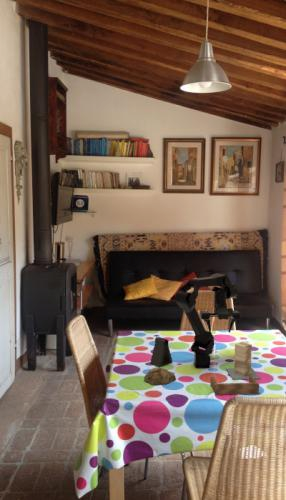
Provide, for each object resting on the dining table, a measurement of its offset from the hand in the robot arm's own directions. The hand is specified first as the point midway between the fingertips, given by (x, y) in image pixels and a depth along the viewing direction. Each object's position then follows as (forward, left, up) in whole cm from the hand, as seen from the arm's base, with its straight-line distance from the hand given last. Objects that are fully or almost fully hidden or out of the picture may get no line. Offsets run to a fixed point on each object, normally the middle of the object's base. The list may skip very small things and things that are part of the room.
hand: (219, 332), depth 209 cm
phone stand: (-28, -4, -13) cm, 31 cm away
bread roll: (-31, -23, -14) cm, 41 cm away
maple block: (+6, -19, -13) cm, 24 cm away
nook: (-2, -35, -13) cm, 37 cm away
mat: (+6, -19, -13) cm, 24 cm away
